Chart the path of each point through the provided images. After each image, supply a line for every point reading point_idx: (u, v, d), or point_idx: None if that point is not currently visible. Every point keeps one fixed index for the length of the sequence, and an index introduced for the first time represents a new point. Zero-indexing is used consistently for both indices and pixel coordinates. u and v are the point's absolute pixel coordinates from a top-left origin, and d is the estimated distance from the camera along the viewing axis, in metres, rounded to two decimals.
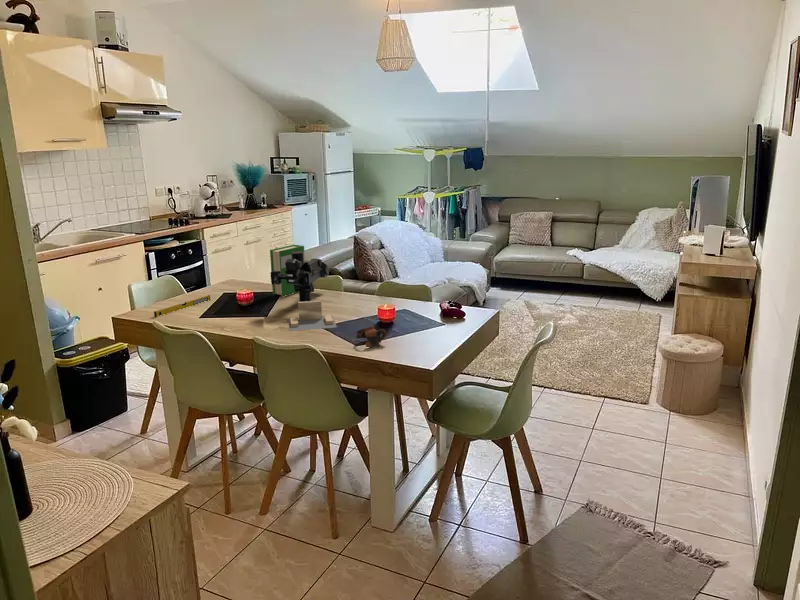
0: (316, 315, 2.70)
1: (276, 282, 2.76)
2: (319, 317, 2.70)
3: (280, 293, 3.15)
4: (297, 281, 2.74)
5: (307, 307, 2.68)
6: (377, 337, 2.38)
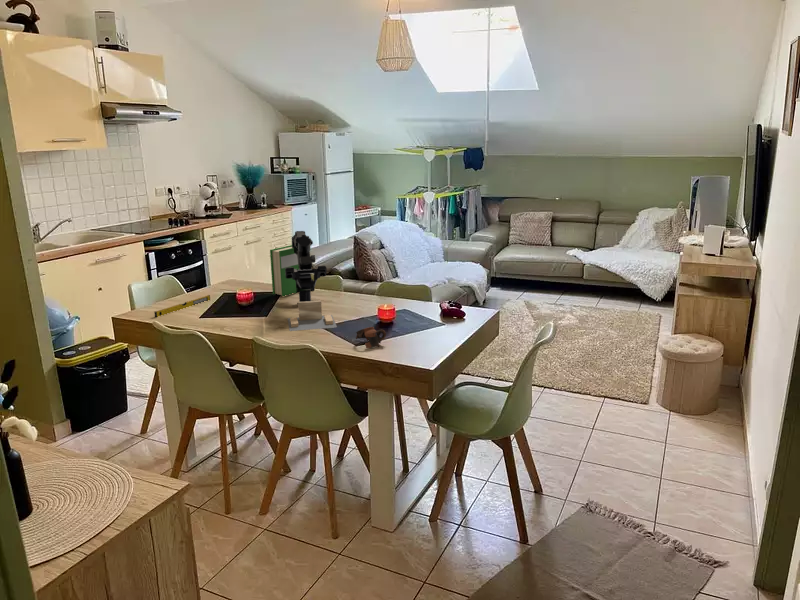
0: (316, 315, 2.70)
1: (300, 284, 2.77)
2: (319, 317, 2.70)
3: (280, 293, 3.15)
4: (315, 281, 2.77)
5: (307, 307, 2.68)
6: (377, 337, 2.38)
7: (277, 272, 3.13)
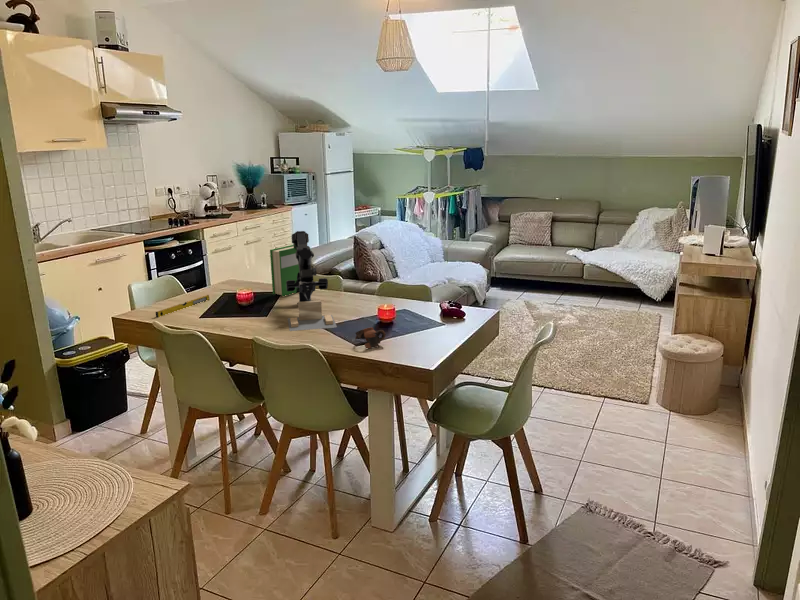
0: (316, 315, 2.70)
1: (307, 296, 2.76)
2: (319, 317, 2.70)
3: (280, 293, 3.15)
4: (310, 295, 2.75)
5: (307, 307, 2.68)
6: (376, 338, 2.37)
7: (277, 272, 3.13)
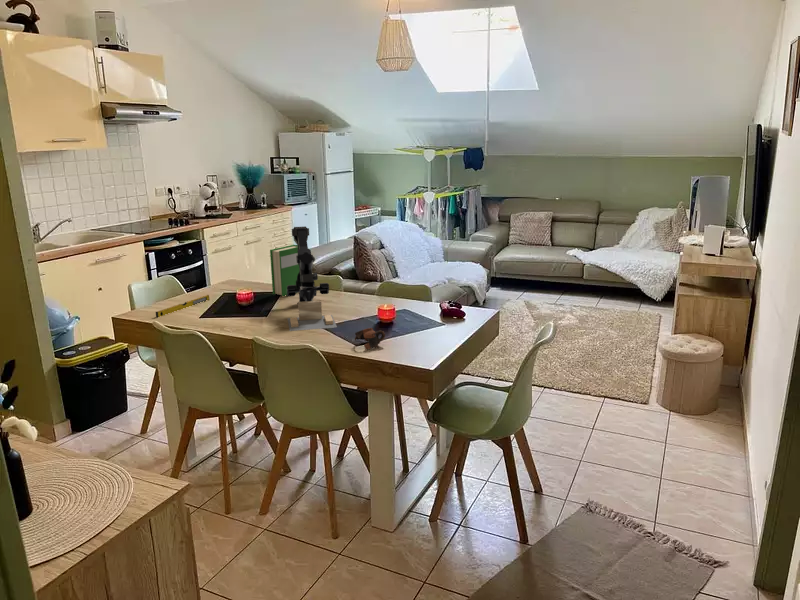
0: (316, 315, 2.70)
1: None
2: (319, 317, 2.70)
3: (280, 293, 3.15)
4: (311, 300, 2.71)
5: (307, 307, 2.67)
6: (376, 338, 2.36)
7: (277, 272, 3.13)
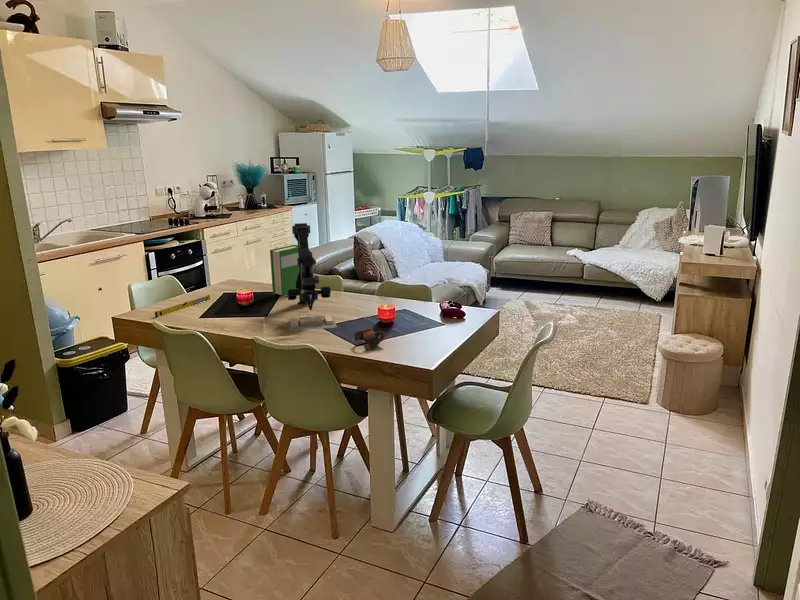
0: None
1: (309, 305, 2.66)
2: None
3: (280, 293, 3.15)
4: None
5: None
6: (375, 339, 2.36)
7: (277, 272, 3.13)
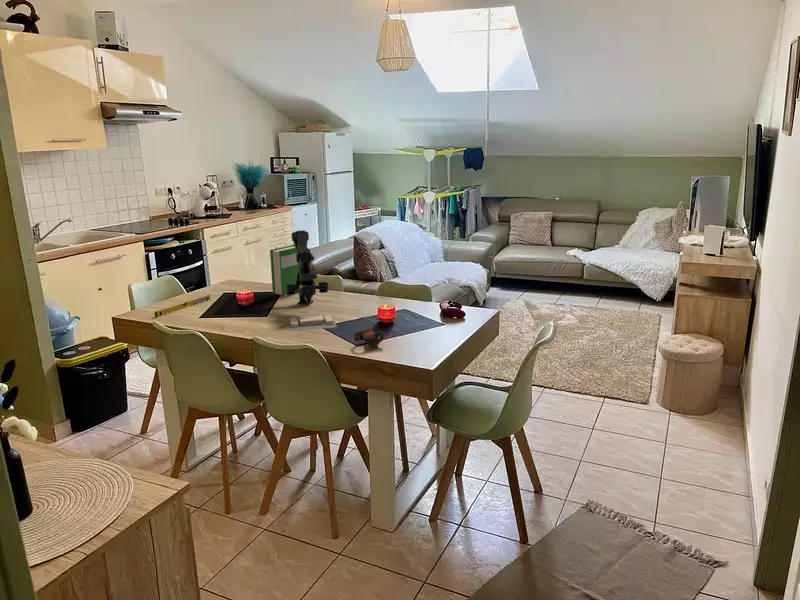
0: None
1: None
2: None
3: (280, 293, 3.15)
4: (311, 298, 2.75)
5: None
6: (375, 339, 2.35)
7: (277, 272, 3.13)
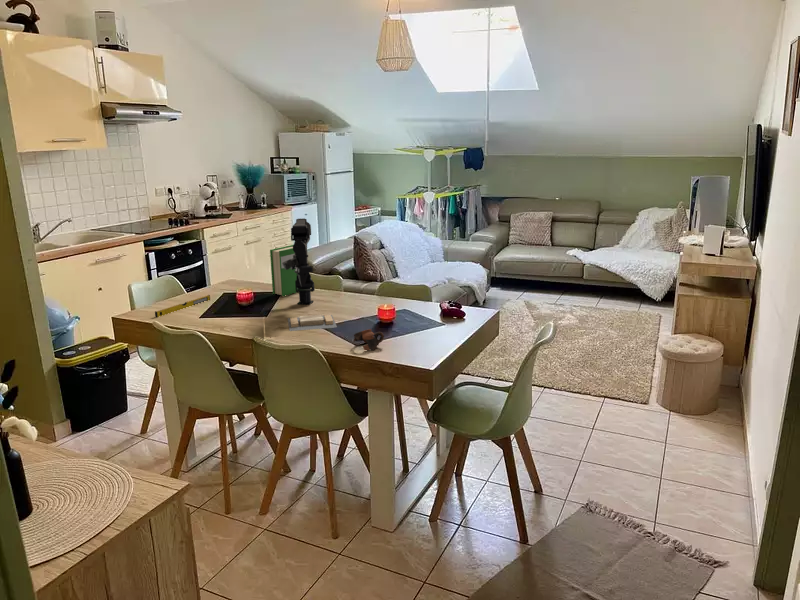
0: None
1: None
2: None
3: (280, 293, 3.15)
4: (302, 280, 2.79)
5: None
6: (375, 340, 2.35)
7: (277, 272, 3.13)
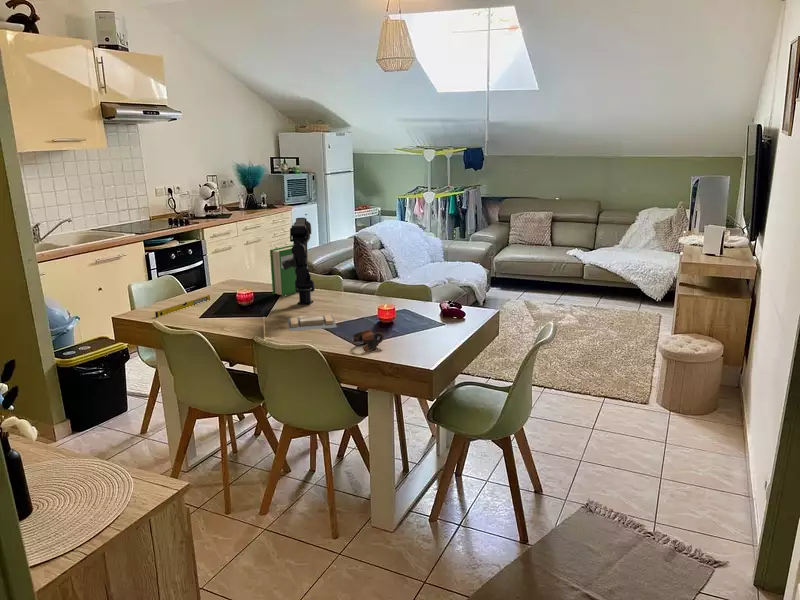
0: None
1: None
2: None
3: (280, 293, 3.15)
4: (301, 280, 2.80)
5: None
6: (374, 340, 2.34)
7: (277, 272, 3.13)
